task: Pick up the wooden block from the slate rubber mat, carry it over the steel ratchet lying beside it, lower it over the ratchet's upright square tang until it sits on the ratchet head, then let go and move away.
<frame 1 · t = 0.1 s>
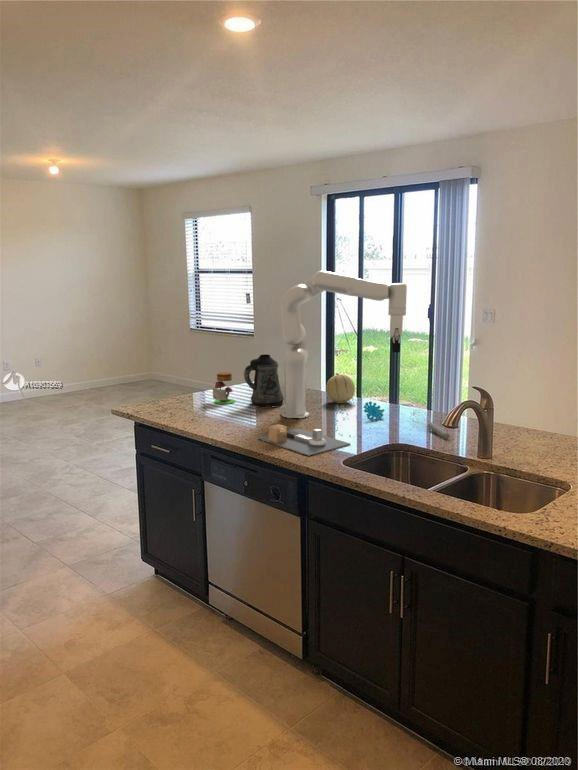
hand: (395, 350, 264), 31 cm above the worktop, tool pointing down, fingers open, 9 cm apart
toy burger: (224, 402, 306), on the worktop
teal virus model: (374, 419, 271), on the worktop
wooden block: (277, 441, 234), point 1 cm above the worktop, touching mat
ratchet: (306, 443, 234), resting on mat
mat: (303, 442, 235), on the worktop
beer stein: (265, 405, 300), on the worktop
kitchen whisk: (430, 430, 253), on the worktop
cantaloupe: (340, 403, 303), on the worktop
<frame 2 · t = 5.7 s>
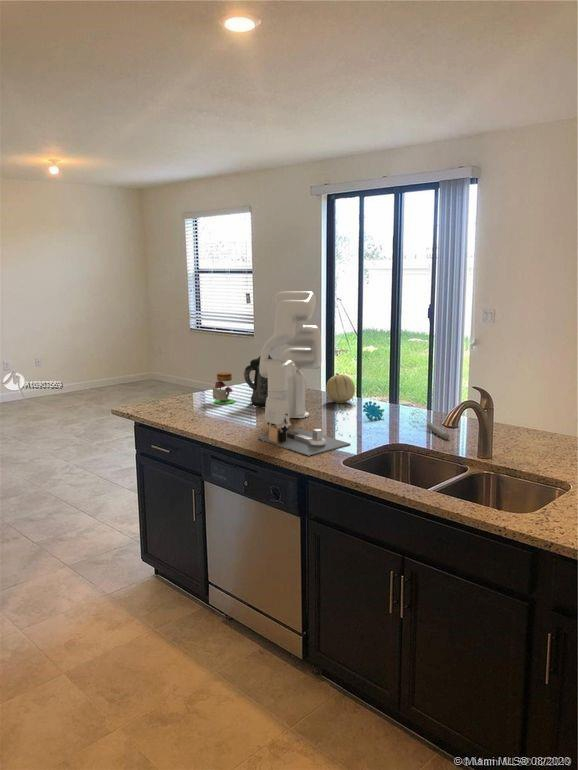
hand: (277, 439, 234), 1 cm above the worktop, tool pointing down, fingers closed on wooden block, 5 cm apart
wooden block: (277, 441, 234), point 1 cm above the worktop, touching gripper, mat
everything else where it was.
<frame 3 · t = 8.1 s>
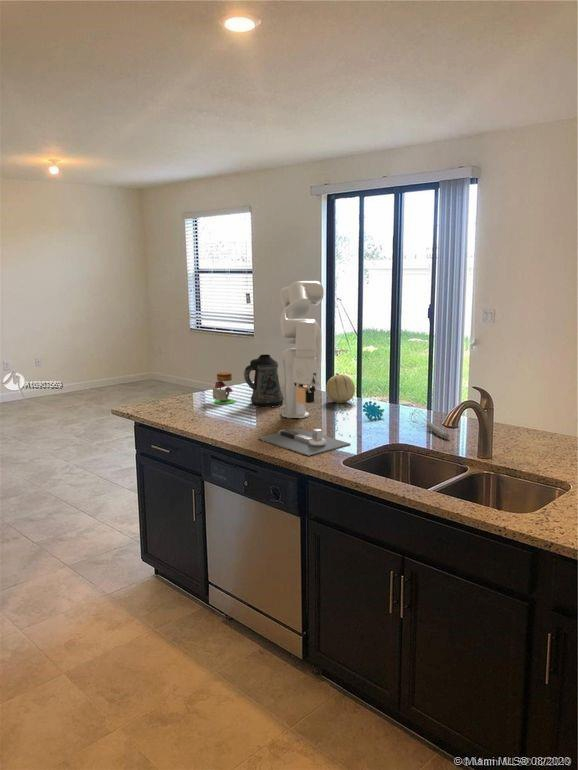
hand: (305, 400, 227), 18 cm above the worktop, tool pointing down, fingers closed on wooden block, 5 cm apart
wooden block: (305, 402, 227), point 17 cm above the worktop, touching gripper
everything else where it was.
when the fingers open (4 cm above the worktop, at t = 11.0 s): wooden block stays where it is, resting on ratchet.
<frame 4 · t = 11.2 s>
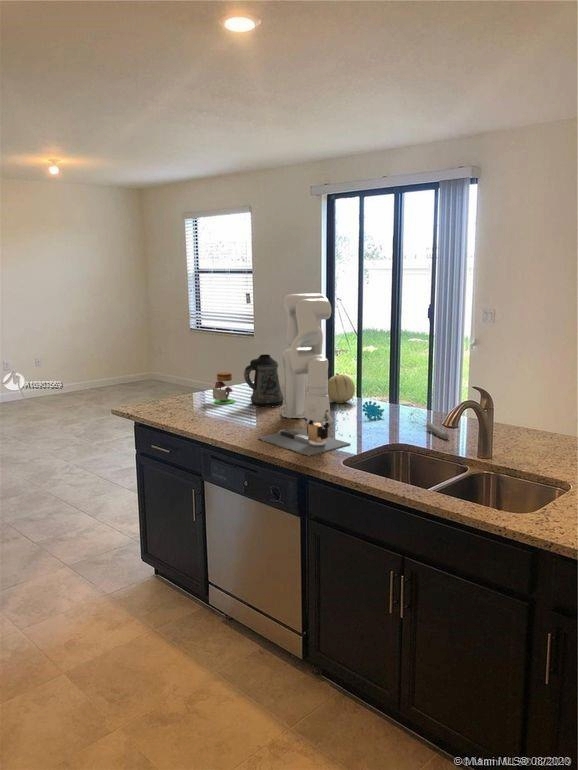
hand: (317, 436, 228), 4 cm above the worktop, tool pointing down, fingers open, 6 cm apart
wooden block: (317, 439, 229), point 3 cm above the worktop, touching ratchet
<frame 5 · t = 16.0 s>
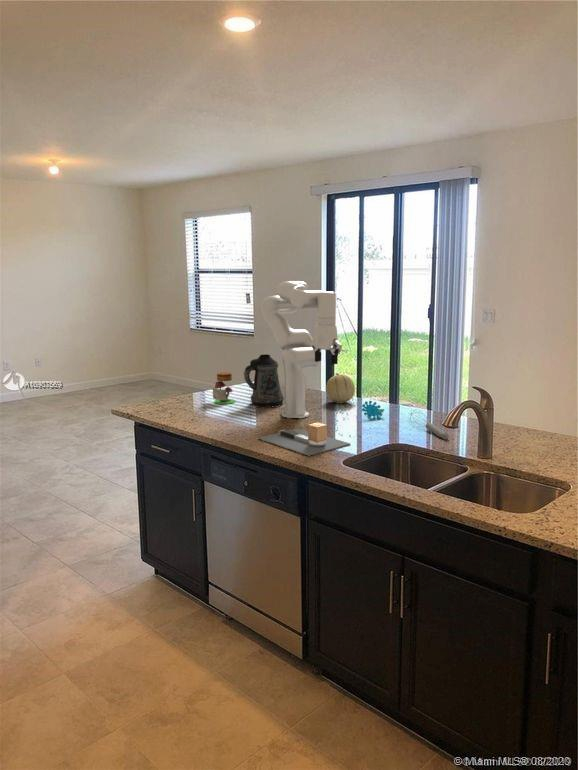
hand: (326, 362, 250), 28 cm above the worktop, tool pointing down, fingers open, 9 cm apart
at the end: wooden block 0.0 cm from the target spot on the ratchet, point 2.6 cm above the ratchet's base; wooden block tilted 0°; the gripper is holding nothing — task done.
